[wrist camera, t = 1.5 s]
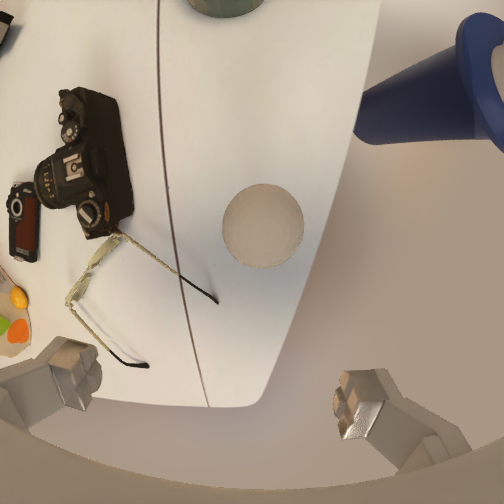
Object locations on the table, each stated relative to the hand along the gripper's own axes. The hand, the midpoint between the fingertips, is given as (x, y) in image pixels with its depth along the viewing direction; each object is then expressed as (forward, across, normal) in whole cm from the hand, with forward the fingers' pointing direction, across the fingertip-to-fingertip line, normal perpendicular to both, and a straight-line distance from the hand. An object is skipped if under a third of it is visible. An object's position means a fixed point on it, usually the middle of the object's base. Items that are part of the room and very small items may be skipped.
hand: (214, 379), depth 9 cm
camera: (+26, +31, +2) cm, 41 cm away
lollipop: (+26, -2, -2) cm, 26 cm away
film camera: (+26, +18, -5) cm, 32 cm away
